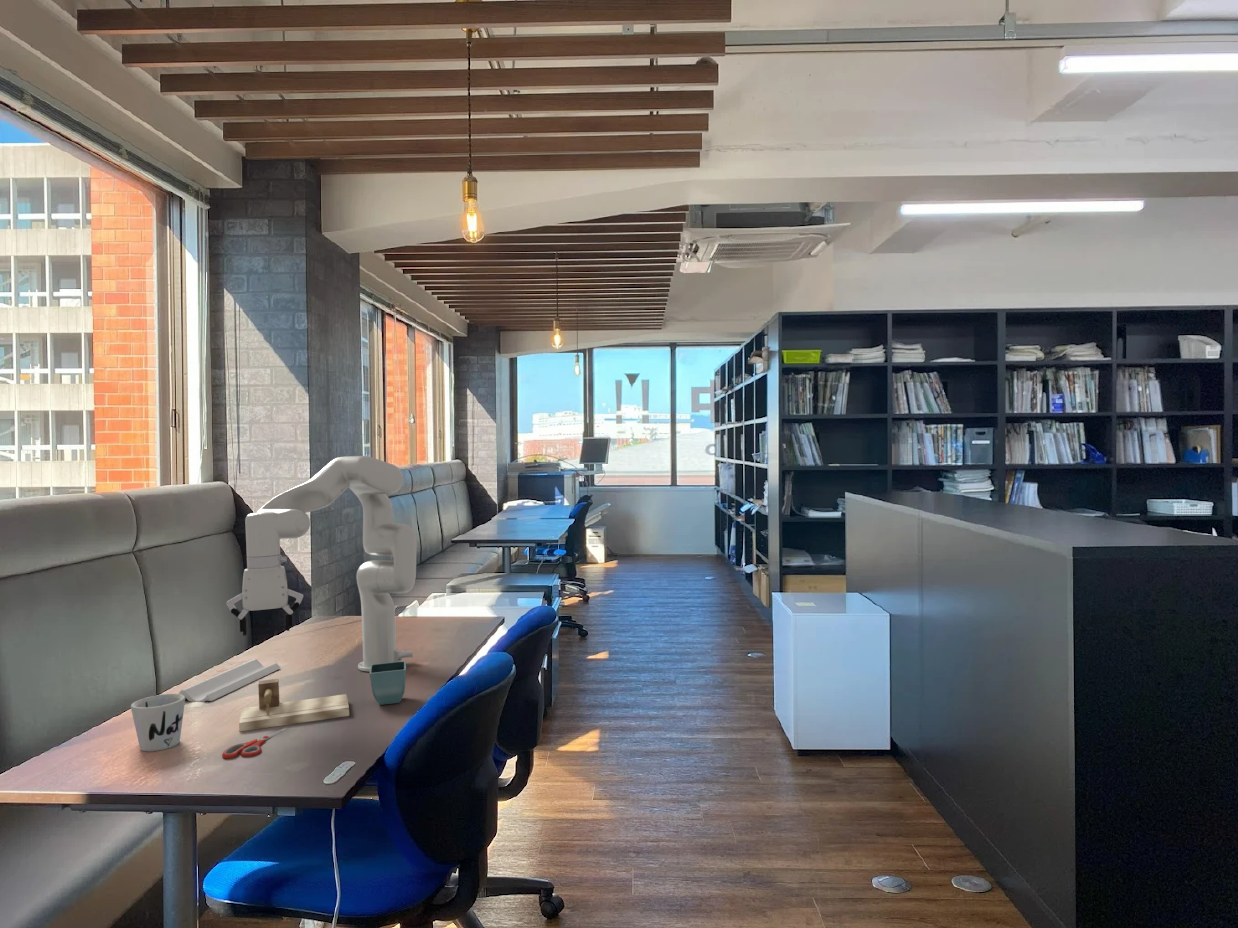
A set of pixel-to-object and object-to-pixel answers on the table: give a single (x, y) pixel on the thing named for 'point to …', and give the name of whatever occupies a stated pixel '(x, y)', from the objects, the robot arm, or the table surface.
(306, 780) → the table surface
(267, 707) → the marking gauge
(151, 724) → the mug
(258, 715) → the maple board
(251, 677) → the crown molding
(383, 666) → the flower pot
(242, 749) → the scissors
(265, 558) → the robot arm
